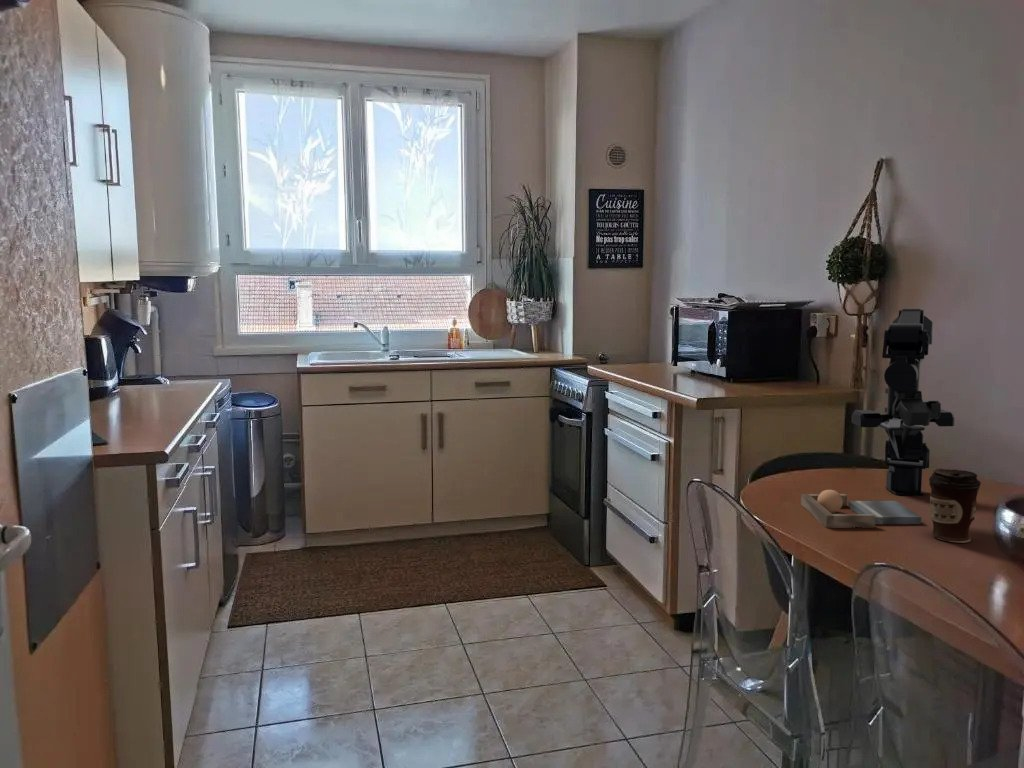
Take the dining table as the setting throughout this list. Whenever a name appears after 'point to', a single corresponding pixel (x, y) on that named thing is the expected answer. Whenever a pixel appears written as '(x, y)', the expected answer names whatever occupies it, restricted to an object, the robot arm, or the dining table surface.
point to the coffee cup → (953, 503)
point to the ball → (830, 500)
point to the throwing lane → (860, 513)
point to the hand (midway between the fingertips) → (900, 458)
